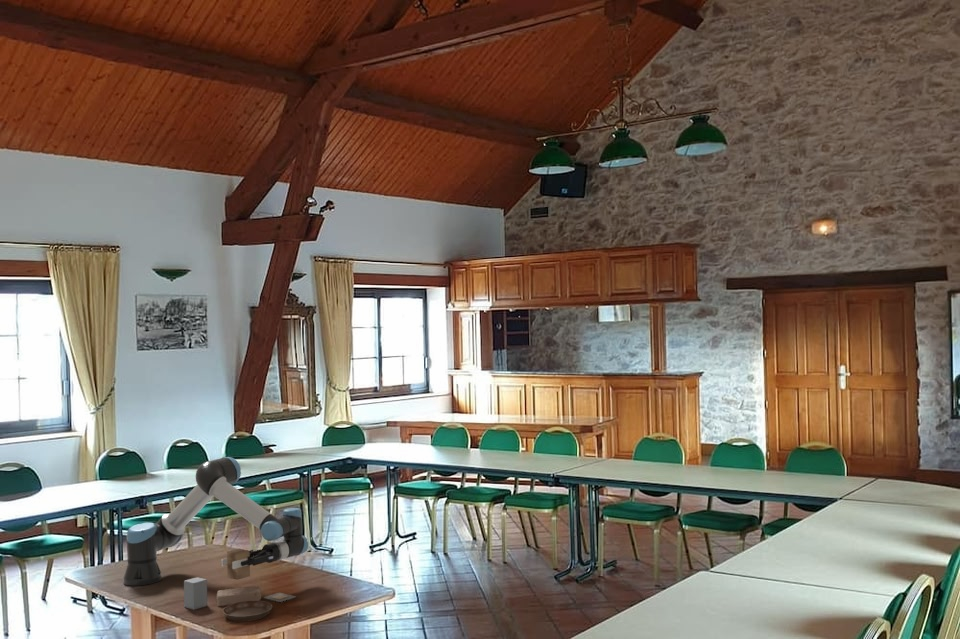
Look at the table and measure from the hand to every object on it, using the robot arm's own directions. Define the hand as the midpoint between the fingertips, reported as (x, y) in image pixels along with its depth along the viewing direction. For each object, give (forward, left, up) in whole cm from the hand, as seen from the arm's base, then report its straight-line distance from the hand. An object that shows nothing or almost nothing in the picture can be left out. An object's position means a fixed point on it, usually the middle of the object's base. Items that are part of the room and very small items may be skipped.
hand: (227, 564), depth 353 cm
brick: (0, +5, -16) cm, 16 cm away
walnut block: (0, +5, -6) cm, 8 cm away
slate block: (-8, -9, -15) cm, 19 cm away
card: (+11, +16, -15) cm, 25 cm away
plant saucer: (+18, -5, -16) cm, 24 cm away
